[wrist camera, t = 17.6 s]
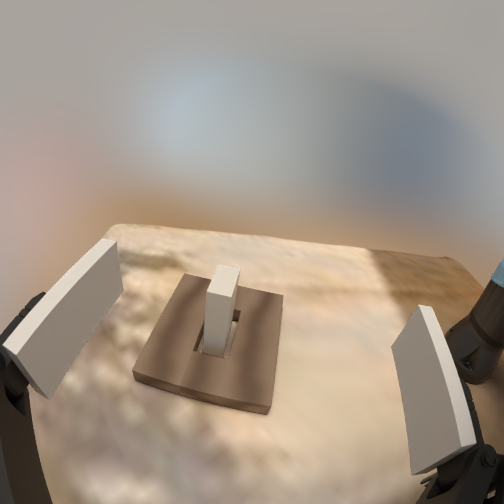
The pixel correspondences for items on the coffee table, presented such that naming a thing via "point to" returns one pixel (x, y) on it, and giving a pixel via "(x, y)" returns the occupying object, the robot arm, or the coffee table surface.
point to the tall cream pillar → (220, 309)
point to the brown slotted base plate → (207, 366)
